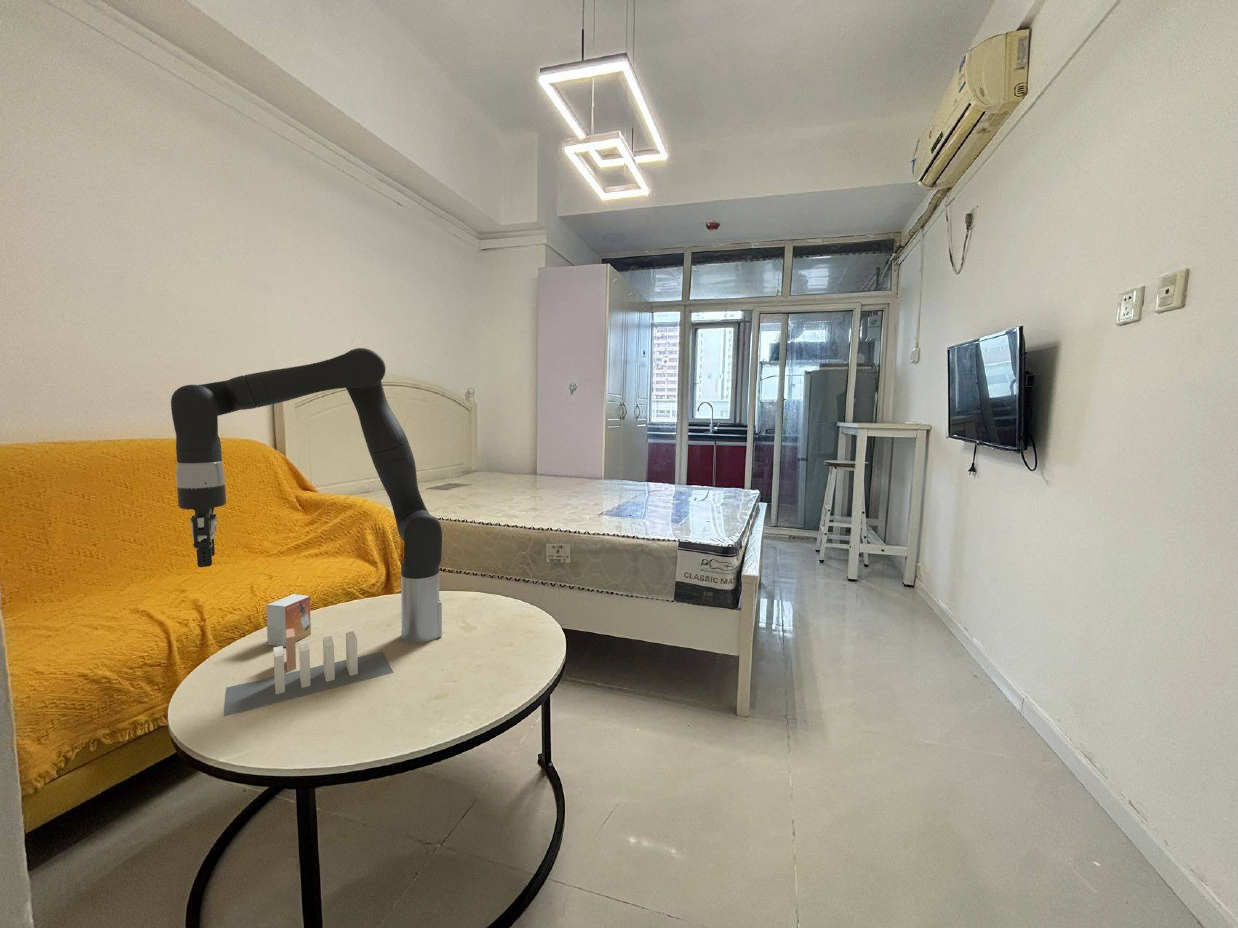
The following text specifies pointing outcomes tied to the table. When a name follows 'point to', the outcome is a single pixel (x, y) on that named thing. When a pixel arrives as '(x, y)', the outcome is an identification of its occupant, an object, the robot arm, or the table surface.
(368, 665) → the mat
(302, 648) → the domino
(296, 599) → the small box
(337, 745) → the table surface
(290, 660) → the domino
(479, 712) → the table surface
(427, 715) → the table surface
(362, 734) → the table surface
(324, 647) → the domino
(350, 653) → the domino
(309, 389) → the robot arm
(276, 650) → the domino
